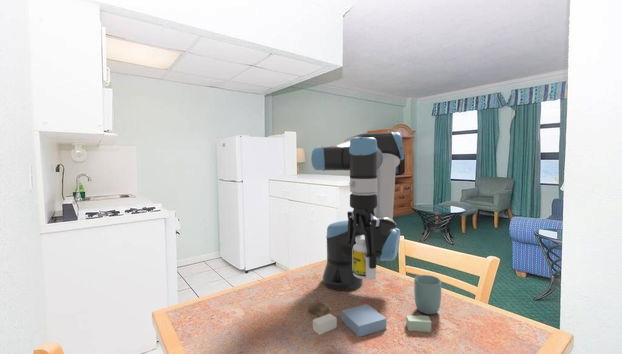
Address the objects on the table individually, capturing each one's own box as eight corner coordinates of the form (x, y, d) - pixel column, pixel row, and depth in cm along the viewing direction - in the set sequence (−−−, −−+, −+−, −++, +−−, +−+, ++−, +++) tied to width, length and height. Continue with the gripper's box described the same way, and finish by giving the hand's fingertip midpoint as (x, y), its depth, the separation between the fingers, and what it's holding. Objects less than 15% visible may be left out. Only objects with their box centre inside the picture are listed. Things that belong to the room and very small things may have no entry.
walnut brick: (308, 312, 93) (308, 303, 93) (314, 309, 95) (314, 299, 95) (323, 319, 89) (322, 309, 89) (329, 315, 91) (329, 306, 91)
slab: (342, 320, 88) (341, 310, 88) (367, 313, 92) (367, 304, 91) (358, 337, 80) (358, 326, 80) (386, 328, 83) (386, 318, 83)
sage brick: (408, 331, 82) (408, 320, 82) (406, 325, 85) (406, 315, 85) (431, 332, 82) (431, 321, 82) (428, 326, 85) (428, 316, 85)
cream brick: (319, 335, 81) (319, 324, 81) (313, 330, 84) (312, 319, 84) (336, 328, 85) (336, 317, 84) (330, 323, 87) (330, 313, 87)
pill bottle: (349, 272, 87) (349, 235, 86) (369, 270, 89) (368, 233, 88) (358, 281, 81) (357, 240, 80) (379, 278, 83) (378, 238, 82)
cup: (443, 318, 88) (444, 285, 87) (415, 316, 90) (416, 284, 89) (437, 306, 96) (438, 275, 95) (412, 304, 97) (412, 274, 97)
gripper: (335, 190, 91) (335, 265, 92) (372, 198, 73) (372, 290, 75) (356, 189, 94) (356, 261, 95) (397, 196, 76) (396, 284, 78)
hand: (363, 274), depth 85 cm, fingers closed on pill bottle, 6 cm apart
